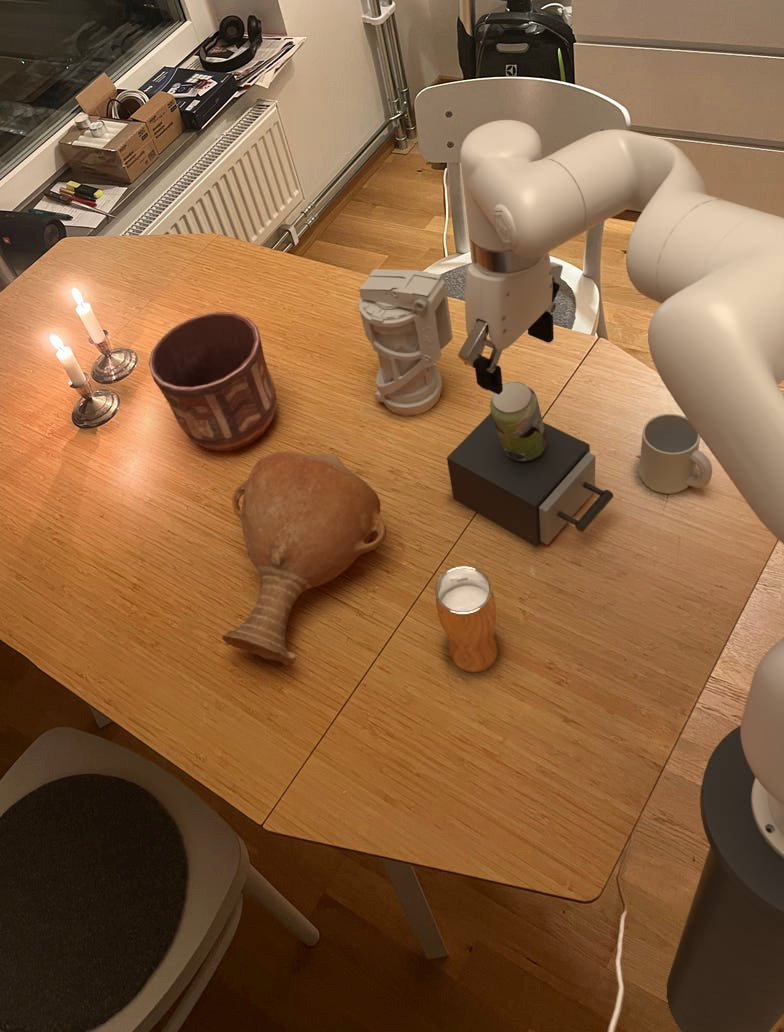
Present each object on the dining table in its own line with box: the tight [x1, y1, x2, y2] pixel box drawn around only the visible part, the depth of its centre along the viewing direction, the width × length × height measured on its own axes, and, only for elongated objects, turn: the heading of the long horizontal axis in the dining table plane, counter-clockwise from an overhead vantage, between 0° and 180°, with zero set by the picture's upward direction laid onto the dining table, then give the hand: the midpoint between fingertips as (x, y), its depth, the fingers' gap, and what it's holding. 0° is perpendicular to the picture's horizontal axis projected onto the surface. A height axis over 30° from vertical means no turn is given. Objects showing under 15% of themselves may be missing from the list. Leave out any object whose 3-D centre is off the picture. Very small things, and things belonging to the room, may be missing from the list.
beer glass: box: [434, 565, 499, 673], centre depth 112 cm, size 7×7×15 cm
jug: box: [222, 451, 387, 665], centre depth 124 cm, size 20×19×30 cm
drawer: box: [538, 452, 614, 546], centre depth 126 cm, size 18×11×8 cm, turn 45°
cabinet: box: [446, 412, 591, 548], centre depth 129 cm, size 15×13×10 cm
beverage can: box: [489, 380, 547, 461], centre depth 121 cm, size 6×7×12 cm
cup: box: [639, 413, 713, 495], centre depth 125 cm, size 7×10×9 cm
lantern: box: [358, 268, 454, 417], centre depth 140 cm, size 13×10×25 cm
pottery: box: [148, 311, 278, 452], centre depth 148 cm, size 18×18×18 cm
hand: (515, 362), depth 105 cm, fingers open, 9 cm apart
